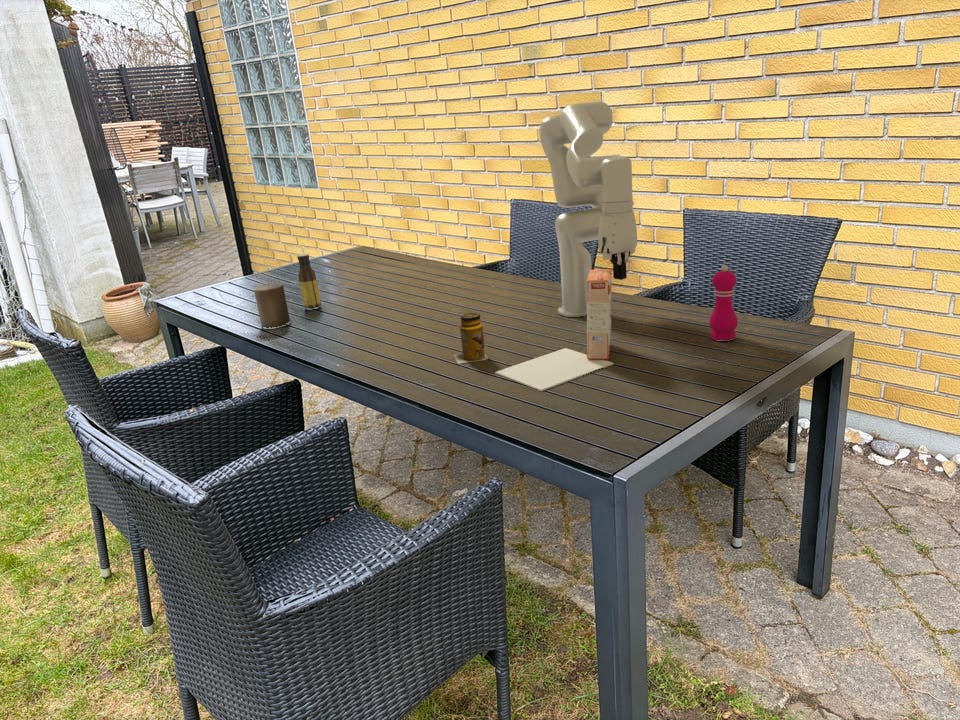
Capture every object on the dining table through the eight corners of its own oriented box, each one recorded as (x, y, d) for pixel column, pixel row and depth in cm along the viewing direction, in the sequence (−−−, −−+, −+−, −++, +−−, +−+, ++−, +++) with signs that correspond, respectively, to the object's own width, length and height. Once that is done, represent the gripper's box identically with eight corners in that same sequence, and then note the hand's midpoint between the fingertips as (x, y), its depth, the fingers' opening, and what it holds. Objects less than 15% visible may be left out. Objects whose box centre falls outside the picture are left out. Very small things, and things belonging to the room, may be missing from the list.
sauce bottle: (317, 305, 270) (308, 252, 264) (325, 307, 266) (316, 253, 259) (301, 309, 267) (291, 255, 260) (309, 312, 262) (299, 257, 255)
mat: (565, 349, 199) (565, 348, 199) (613, 364, 185) (613, 362, 185) (495, 373, 186) (495, 372, 186) (541, 391, 172) (541, 389, 172)
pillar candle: (296, 323, 249) (288, 280, 244) (271, 331, 242) (262, 287, 237) (280, 320, 255) (272, 278, 251) (255, 327, 249) (247, 284, 244)
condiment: (489, 359, 197) (485, 316, 193) (458, 364, 195) (453, 321, 191) (483, 351, 204) (479, 310, 200) (453, 356, 202) (448, 314, 198)
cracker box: (610, 360, 187) (610, 279, 180) (586, 360, 188) (585, 280, 182) (612, 344, 200) (612, 268, 193) (589, 343, 201) (589, 268, 195)
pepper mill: (738, 335, 198) (741, 262, 191) (735, 343, 192) (737, 268, 185) (711, 333, 201) (712, 261, 194) (706, 342, 195) (708, 268, 188)
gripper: (627, 203, 193) (629, 271, 199) (585, 211, 185) (589, 282, 191) (649, 204, 187) (650, 274, 193) (607, 212, 179) (609, 286, 185)
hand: (620, 278), depth 192 cm, fingers closed
